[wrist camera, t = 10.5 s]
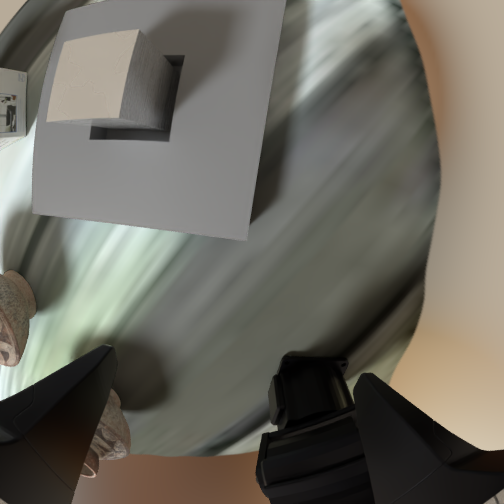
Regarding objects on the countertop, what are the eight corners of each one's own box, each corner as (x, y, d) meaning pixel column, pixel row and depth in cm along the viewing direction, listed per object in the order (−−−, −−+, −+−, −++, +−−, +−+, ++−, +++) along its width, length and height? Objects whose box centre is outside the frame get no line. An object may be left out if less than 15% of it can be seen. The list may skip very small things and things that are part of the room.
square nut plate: (280, 17, 14) (286, -2, 11) (246, 228, 19) (246, 241, 17) (83, 22, 13) (66, 11, 10) (54, 205, 18) (32, 213, 15)
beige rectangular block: (180, 75, 15) (139, 29, 8) (170, 131, 16) (118, 117, 9) (126, 76, 15) (64, 42, 7) (116, 129, 16) (46, 121, 9)
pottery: (17, 229, 19) (-73, 279, 8) (162, 413, 27) (141, 501, 15) (-18, 276, 20) (-79, 325, 9) (103, 424, 28) (79, 492, 17)
